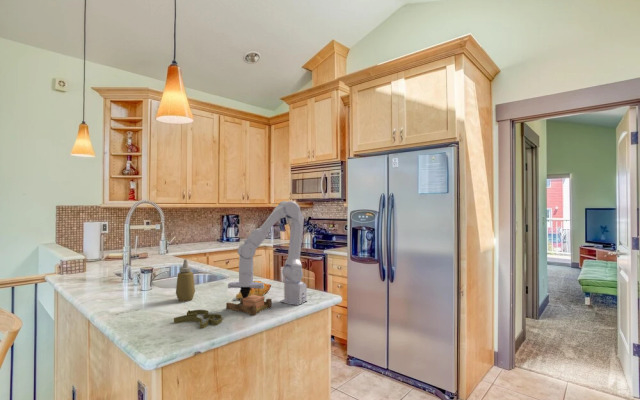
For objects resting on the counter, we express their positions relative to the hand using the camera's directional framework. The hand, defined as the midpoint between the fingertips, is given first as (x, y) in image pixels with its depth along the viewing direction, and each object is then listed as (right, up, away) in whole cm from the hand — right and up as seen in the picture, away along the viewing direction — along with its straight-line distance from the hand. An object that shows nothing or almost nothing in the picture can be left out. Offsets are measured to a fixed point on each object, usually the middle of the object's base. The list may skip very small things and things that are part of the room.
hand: (245, 305), depth 138 cm
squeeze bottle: (-29, -1, +11) cm, 31 cm away
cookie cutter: (-14, -2, -14) cm, 20 cm away
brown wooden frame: (+1, -1, -1) cm, 1 cm away
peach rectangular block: (+4, 0, -2) cm, 4 cm away
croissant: (0, -2, +19) cm, 19 cm away
